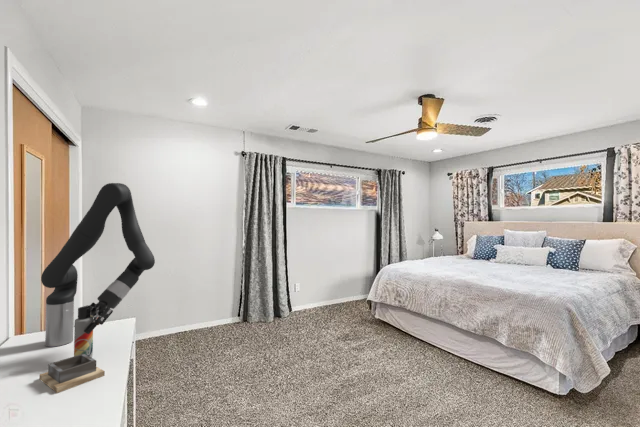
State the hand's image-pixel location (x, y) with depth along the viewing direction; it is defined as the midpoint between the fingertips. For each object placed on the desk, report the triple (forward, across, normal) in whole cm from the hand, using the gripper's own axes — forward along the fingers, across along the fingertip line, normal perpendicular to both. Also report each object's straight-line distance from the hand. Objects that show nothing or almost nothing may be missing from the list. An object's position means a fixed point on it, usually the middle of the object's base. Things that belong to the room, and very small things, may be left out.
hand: (80, 330), depth 120 cm
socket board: (+13, +13, +3) cm, 18 cm away
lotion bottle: (+7, 0, +9) cm, 11 cm away
